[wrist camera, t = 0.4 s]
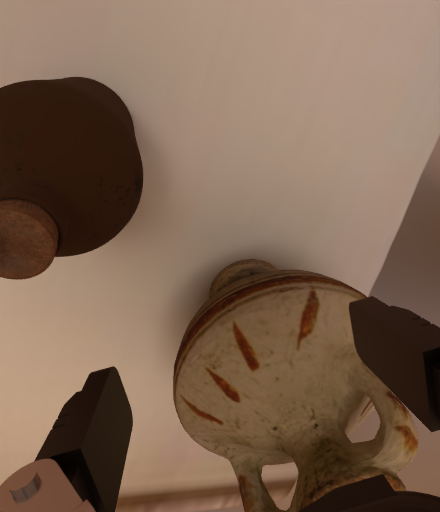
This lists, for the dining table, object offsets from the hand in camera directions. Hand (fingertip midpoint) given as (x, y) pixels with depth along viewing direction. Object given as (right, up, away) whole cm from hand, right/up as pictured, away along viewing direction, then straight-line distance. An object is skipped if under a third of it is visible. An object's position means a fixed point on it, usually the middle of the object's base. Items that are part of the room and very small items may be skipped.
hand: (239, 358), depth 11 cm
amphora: (+3, -1, +38) cm, 38 cm away
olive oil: (-14, +16, +23) cm, 32 cm away
